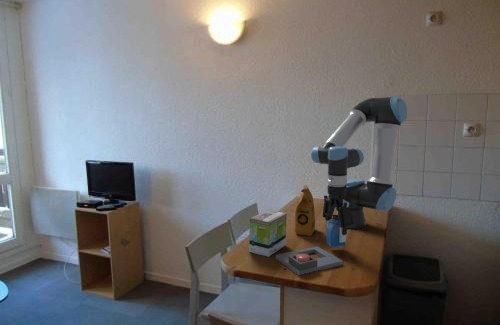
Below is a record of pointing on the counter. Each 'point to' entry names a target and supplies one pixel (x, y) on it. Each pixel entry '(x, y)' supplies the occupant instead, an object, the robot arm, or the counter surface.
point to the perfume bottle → (334, 232)
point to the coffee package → (305, 213)
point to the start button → (302, 257)
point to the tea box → (267, 232)
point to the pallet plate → (311, 265)
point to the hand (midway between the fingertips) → (335, 238)
